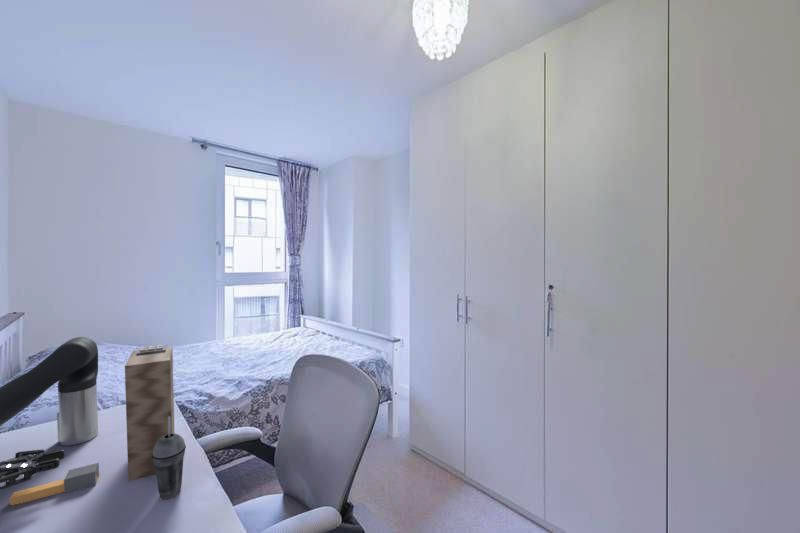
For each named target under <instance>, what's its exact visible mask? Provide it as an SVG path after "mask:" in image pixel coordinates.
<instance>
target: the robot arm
mask: <svg viewBox="0 0 800 533" xmlns="http://www.w3.org/2000/svg"><path fill="white" fill-rule="evenodd" d="M98 374H99V350H98V345H97V343H96V342H95V341H94V339H91V338H89V337H86V336H79V337H74V338H71V339H69V340H67V341H66V342H64V343H62V344H61V345H60V346H58V347H57V348H55V350H53V352H51V354H49V355H48V356H47V357H46V358H45V359H43V360H42V361H40V363H38V364H37V365H36V366H34V367H33V368H32V369H30V370H28V371H26V372H25V373H23V374H22V375H19V376H17V377H16V378H14V379H11V380H10V381H8V382H7V383H5V384H3V385H1V386H0V426H3V425H4V424H5V423H7V422H8V421H10V420H11V419H13V418H14V417H15V416H17V415H18V414H19V413H21V412H23V411H24V410H25V409H26V408H28V407H29V406H30V405H32V404H33V402H35V401H36V400H37V399H39V397H41V396H42V395H43V394H44V393H45V392H46V391H47V390H49V389H50V388H51V387H53V385H55V384H57V383H58V384H57V393H58V394H57V396H58V400H57V401H58V412H57V413H56V423H57V426H56V428H57V442H59V443H60V445H61V446H66V447H67V446H74V445H79V444H82V443H86V442H88V441H90V440H92V439H94V438H95V437H97V436H98V434H99V413H98V412H99V411H98V410H99V409H98V388H97V387H98V385H97V384H98V383H97V379H98ZM14 455H15V456H14V457H12V458H8V459H6V460H3V461H0V491H2V490H5V489H7V488H10V487H11V488H12V487H13V486H16V485H19V484H21V483H24V482H27V481H30V480H31V479H32V477H34V476H36V475H38V474H39V473H42V472H46V471H51V470H55V469H57V468H59V467H60V460H62V459H64V458H65V456H66V451H65V449H60V450H55V451H51V452H45V449H36V450H35V449H33V450H24V451H23V450H22V451H18V452H15V454H14Z"/></svg>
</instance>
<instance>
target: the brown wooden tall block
mask: <svg viewBox="0 0 800 533" xmlns="http://www.w3.org/2000/svg"><path fill="white" fill-rule="evenodd" d="M173 354H174V353H173V345H169V346H167V344H157V345H151V346H141V347H140V348H139V347H138V349H134V350H132V351H131V354H130V355H129V357H128V360H127V361H126V363H125V365H124V379H125V380H124V381H125V384H124V386H125V387H124V388H125V414H126V416H125V417H126V444H127V446H126V447H127V479H128V480H127V481H128V483H130V482H133V481H137V480H140V479H145V478H148V477H152V476H154V475H155V476H156V469H155V464H154V461H153V458H152V453H153V448H154V446H155V444H156V443H157V441H158V440H159V439H160V438H162V437H163V436H165V435H167V434H168V417H169V416H170V434H172V433H174V434H176V433H175V405H174V404H175V403H174V402H175V401H174V400H175V399H174V398H175V397H174V396H175V395H174V392H175V391H174V356H173Z"/></svg>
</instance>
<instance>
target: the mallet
mask: <svg viewBox="0 0 800 533" xmlns="http://www.w3.org/2000/svg"><path fill="white" fill-rule="evenodd" d="M99 478H100V465H99V462H96V463H93V464H92V463H91V464H87V465H84V466H80V467H77V468H71V469H69V470H68V472H67V473H66V475H65V477H64V478H63V479H59V480H55V481H52V482H48V483H45V484H40V485H36V486H33V487H29V488H26V489H21V490H18V491H13V493H12V494H11V496H10V497H9V505H13V506H15V505H14V504H17V505H20V504H24V503H27V502H31V500H32V501H34V500H38V499H42V498H47V497H50V496H54V495H58V494H60V493H64V494H68V493H73V492H77V491H79V490H83V489H87V488H91V487H95V486H96V485H97V483H98V480H99ZM23 502H24V503H23ZM19 503H20V504H19Z"/></svg>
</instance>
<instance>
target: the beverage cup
mask: <svg viewBox="0 0 800 533" xmlns="http://www.w3.org/2000/svg"><path fill="white" fill-rule="evenodd" d="M186 448H187V446H186V443H185V439H184V438H183V437H182V436H181V434H178V433H175V434H174V433H172V434H170V416H169V417H168V434H167V435H165V436H163V437H162V438H160V439H159V440H158V441H157V443H156V444H155V446H154V448H153V453H152V458H153V461H154V464H155V469H156V475H155V476H156V482H157V488H158V494H159V499H160V498H161V499H162V501H169V500H172V499H175V498H177V496H179V495H180V493H181V491H182V490H181V489H182V485H183V484H182V483H183V470H184V469H183V468H184V459H185V458H184V457H185V453H186ZM161 499H160V500H161Z"/></svg>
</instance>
